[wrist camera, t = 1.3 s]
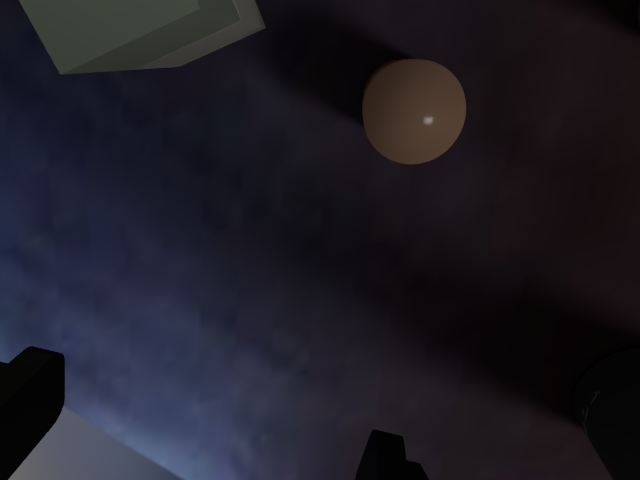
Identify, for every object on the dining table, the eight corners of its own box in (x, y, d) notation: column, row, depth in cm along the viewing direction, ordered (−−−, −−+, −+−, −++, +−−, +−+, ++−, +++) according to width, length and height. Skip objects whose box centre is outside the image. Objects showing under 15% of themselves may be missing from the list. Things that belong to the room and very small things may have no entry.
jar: (443, 57, 26) (471, 58, 20) (436, 139, 28) (460, 164, 22) (362, 59, 27) (364, 60, 20) (360, 139, 29) (361, 164, 22)
